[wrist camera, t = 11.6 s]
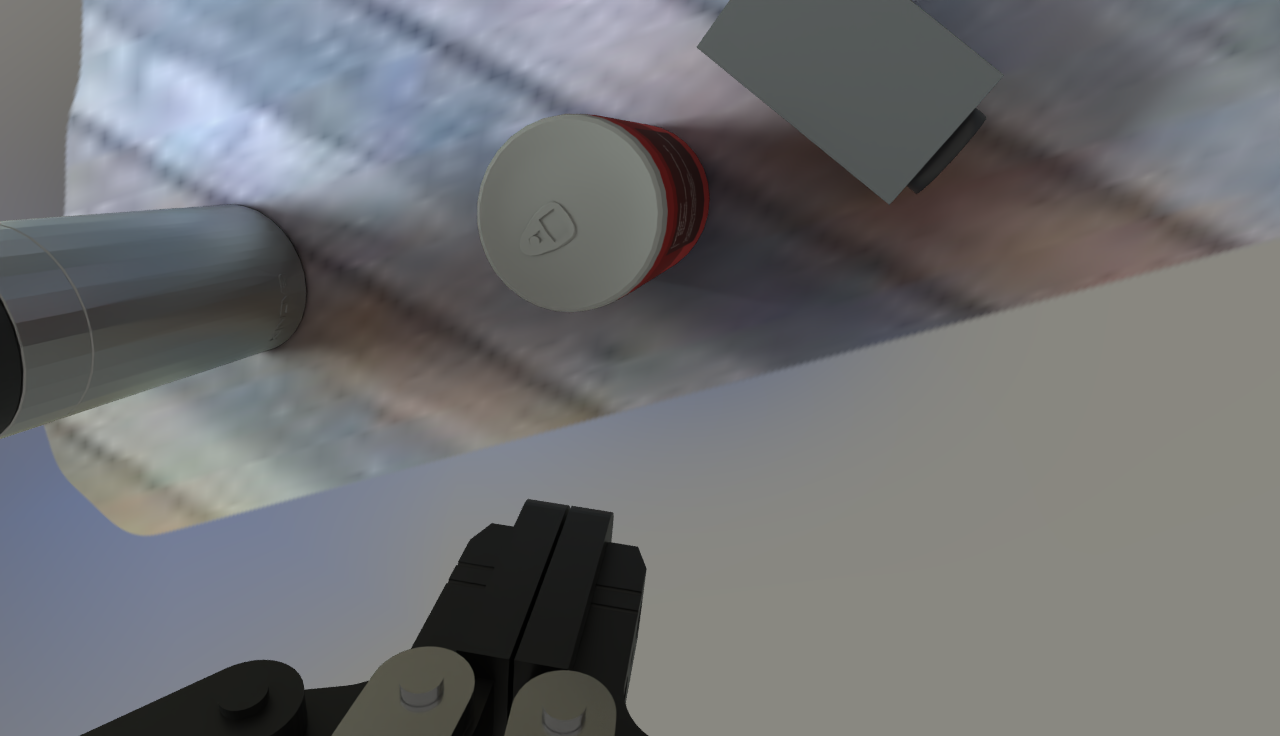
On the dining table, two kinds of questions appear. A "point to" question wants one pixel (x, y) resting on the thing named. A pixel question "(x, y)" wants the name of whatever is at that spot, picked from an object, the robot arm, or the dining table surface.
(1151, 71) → the dining table surface
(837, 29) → the block
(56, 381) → the robot arm
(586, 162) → the canned food
